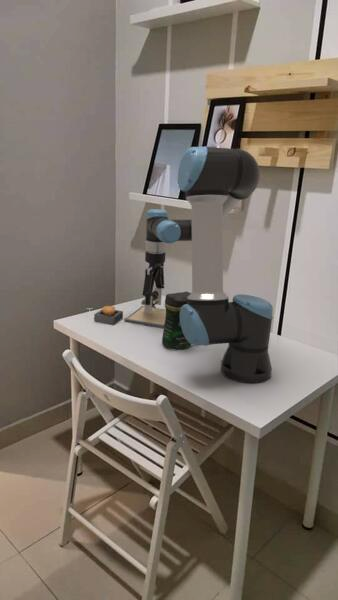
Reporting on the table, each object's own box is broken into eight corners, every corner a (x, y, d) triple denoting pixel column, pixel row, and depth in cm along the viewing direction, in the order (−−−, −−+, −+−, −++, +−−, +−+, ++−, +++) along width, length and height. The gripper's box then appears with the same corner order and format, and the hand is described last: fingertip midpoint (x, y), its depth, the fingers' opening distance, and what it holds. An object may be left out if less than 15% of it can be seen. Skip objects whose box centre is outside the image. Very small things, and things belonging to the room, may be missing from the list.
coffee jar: (171, 352, 153) (174, 298, 148) (158, 343, 160) (161, 291, 154) (195, 347, 159) (199, 294, 153) (182, 339, 165) (185, 288, 159)
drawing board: (164, 328, 174) (164, 325, 173) (124, 321, 178) (124, 319, 178) (179, 314, 190) (179, 311, 190) (142, 308, 195) (142, 305, 194)
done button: (111, 316, 176) (111, 310, 175) (100, 314, 177) (100, 308, 176) (116, 313, 180) (117, 306, 179) (105, 311, 181) (106, 305, 180)
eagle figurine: (164, 309, 179) (162, 298, 187) (154, 295, 176) (153, 284, 184) (146, 318, 181) (146, 307, 188) (137, 304, 177) (136, 293, 185)
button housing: (113, 325, 174) (114, 317, 173) (94, 321, 177) (94, 314, 176) (122, 318, 181) (122, 311, 181) (103, 315, 184) (103, 308, 183)
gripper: (156, 245, 187) (154, 298, 194) (134, 256, 167) (132, 315, 174) (174, 247, 185) (171, 301, 192) (154, 258, 165) (151, 318, 172)
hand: (152, 308), depth 183 cm, fingers closed on eagle figurine, 10 cm apart
